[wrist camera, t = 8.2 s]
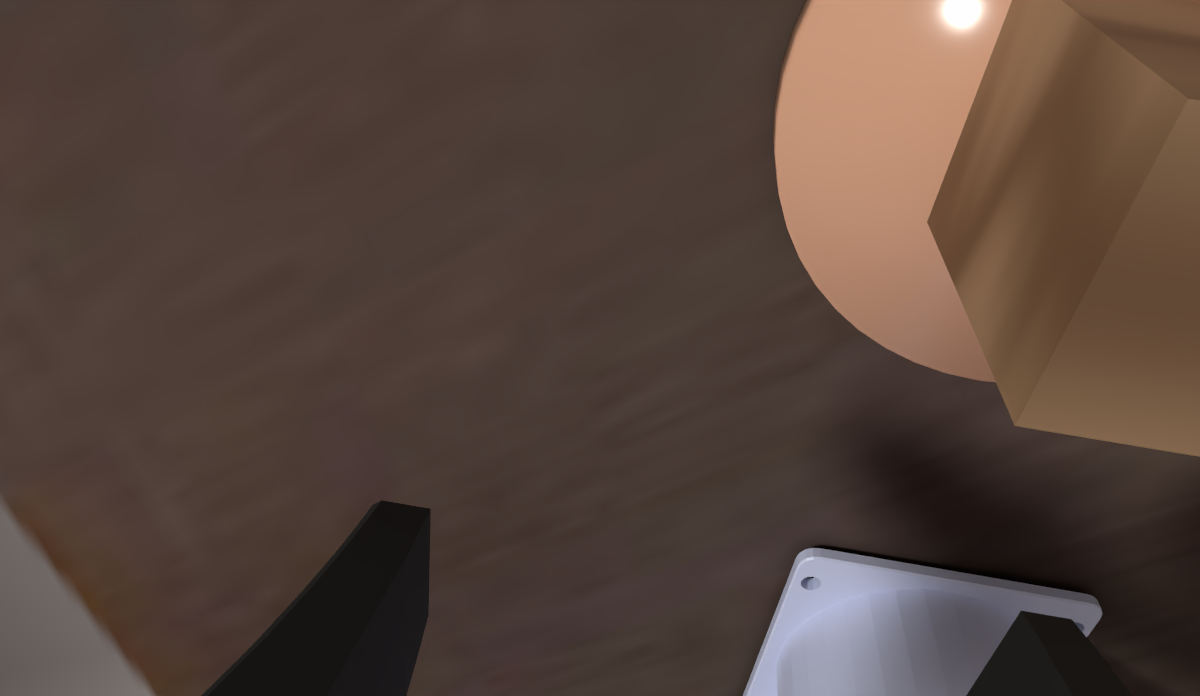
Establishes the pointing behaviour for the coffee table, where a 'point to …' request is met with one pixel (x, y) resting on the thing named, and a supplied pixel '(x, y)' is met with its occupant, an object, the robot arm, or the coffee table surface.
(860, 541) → the coffee table surface
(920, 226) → the peach flat disc
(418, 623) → the robot arm
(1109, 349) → the block
